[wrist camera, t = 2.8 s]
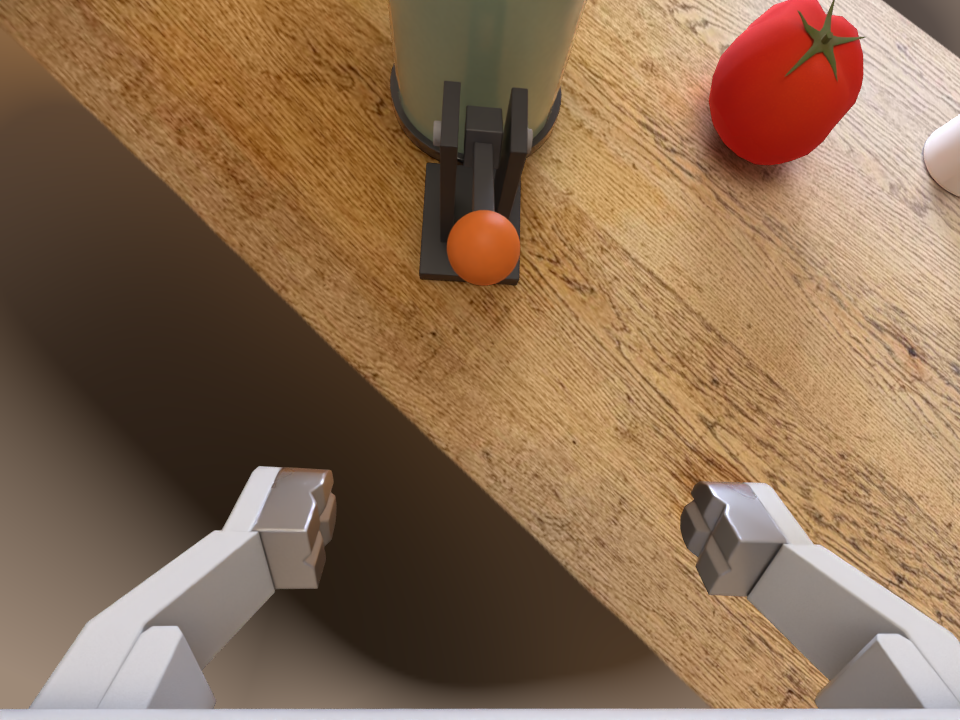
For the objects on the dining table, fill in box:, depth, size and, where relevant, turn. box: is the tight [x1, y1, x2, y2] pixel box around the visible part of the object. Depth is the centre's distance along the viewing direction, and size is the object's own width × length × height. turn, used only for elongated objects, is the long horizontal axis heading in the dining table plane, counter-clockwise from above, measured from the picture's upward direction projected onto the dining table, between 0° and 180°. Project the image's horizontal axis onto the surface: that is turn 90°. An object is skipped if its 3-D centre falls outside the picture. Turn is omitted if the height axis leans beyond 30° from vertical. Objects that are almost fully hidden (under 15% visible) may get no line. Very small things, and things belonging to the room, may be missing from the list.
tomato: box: [709, 0, 865, 165], centre depth 39 cm, size 11×13×10 cm
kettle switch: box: [447, 105, 520, 286], centre depth 26 cm, size 13×4×4 cm, turn 178°
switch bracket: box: [419, 81, 533, 285], centre depth 33 cm, size 10×8×13 cm
